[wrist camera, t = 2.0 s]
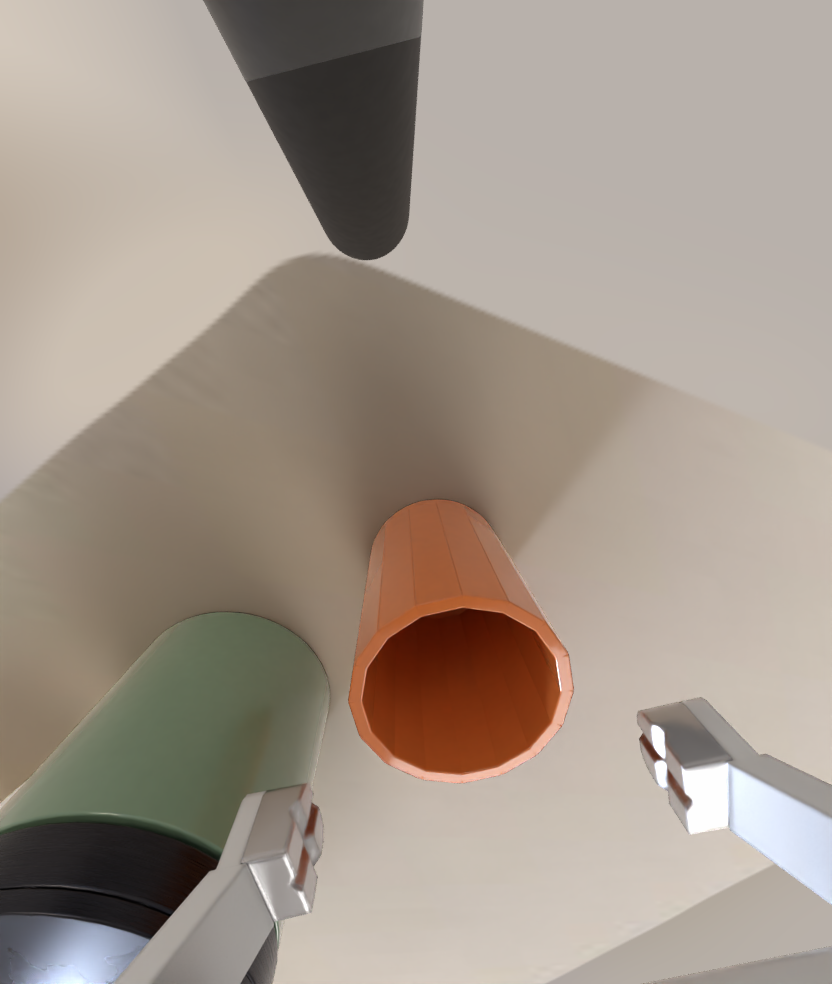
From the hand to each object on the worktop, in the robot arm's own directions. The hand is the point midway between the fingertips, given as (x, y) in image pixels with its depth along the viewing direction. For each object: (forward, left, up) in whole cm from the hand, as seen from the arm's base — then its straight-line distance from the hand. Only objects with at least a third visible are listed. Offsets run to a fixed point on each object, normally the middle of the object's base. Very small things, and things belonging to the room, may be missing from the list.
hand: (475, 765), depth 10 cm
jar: (+5, -12, -11) cm, 17 cm away
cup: (0, 0, -11) cm, 11 cm away
